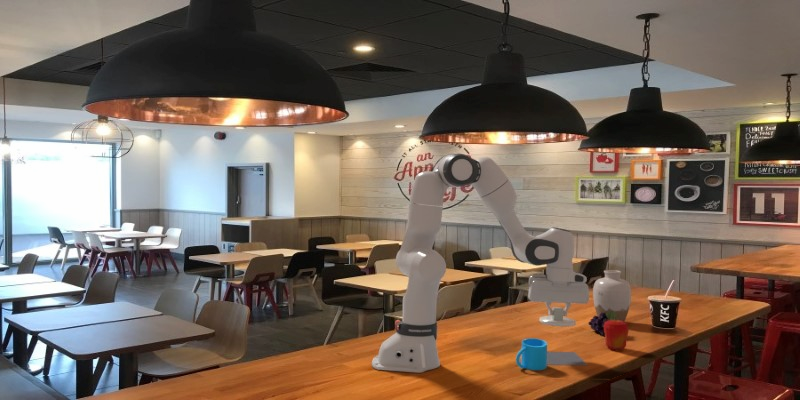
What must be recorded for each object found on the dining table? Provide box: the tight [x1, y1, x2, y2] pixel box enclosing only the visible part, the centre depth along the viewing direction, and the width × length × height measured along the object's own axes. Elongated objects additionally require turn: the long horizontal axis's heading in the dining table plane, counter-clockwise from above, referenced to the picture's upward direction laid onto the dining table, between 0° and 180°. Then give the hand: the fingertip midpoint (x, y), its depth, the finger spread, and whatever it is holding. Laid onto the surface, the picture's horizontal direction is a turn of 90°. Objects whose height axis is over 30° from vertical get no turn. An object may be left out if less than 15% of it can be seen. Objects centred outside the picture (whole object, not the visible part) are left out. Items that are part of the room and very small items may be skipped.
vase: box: [592, 269, 632, 322], centre depth 268 cm, size 16×16×23 cm
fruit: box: [588, 311, 618, 336], centre depth 248 cm, size 10×11×15 cm
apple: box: [604, 320, 630, 352], centre depth 225 cm, size 9×8×12 cm
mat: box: [547, 351, 588, 366], centre depth 211 cm, size 16×16×1 cm
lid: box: [538, 306, 576, 328], centre depth 210 cm, size 12×12×5 cm
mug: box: [515, 337, 548, 371], centre depth 199 cm, size 12×8×8 cm
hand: (557, 315), depth 210 cm, fingers closed on lid, 3 cm apart
